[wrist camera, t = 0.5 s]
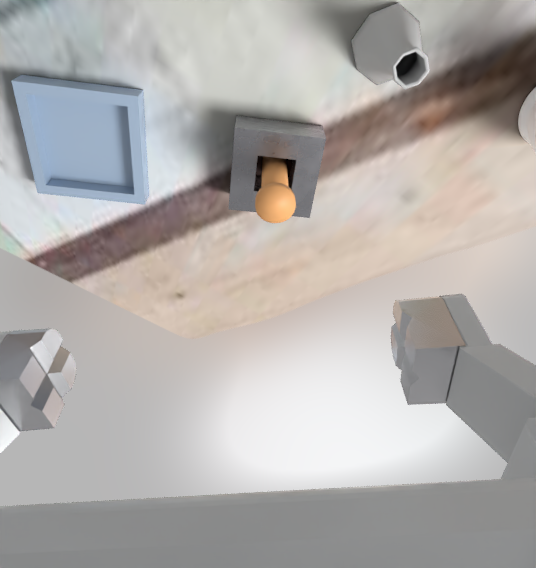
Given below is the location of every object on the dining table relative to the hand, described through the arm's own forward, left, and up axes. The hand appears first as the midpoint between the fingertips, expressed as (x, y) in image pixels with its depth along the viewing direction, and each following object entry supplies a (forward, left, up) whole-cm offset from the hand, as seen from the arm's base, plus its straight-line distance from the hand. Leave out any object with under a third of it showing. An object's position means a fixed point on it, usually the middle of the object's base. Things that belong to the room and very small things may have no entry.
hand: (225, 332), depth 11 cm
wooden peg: (+14, +3, -44) cm, 46 cm away
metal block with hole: (+14, +3, -44) cm, 46 cm away
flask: (0, +13, -44) cm, 46 cm away
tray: (+14, -18, -44) cm, 49 cm away
